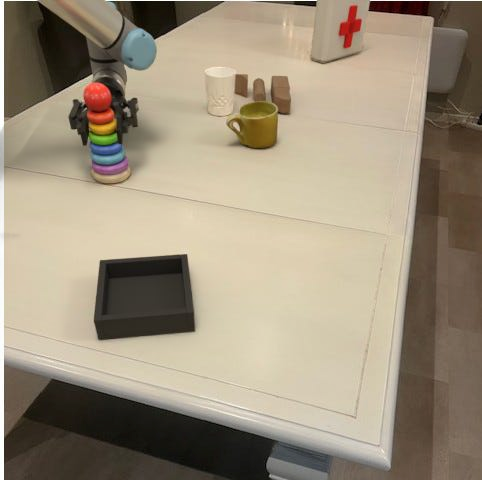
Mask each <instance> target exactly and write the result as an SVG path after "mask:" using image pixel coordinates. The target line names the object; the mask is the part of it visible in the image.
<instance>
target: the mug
mask: <svg viewBox="0 0 482 480" xmlns="http://www.w3.org/2000/svg"><path fill="white" fill-rule="evenodd" d="M234 123H236V124H237V125H238V127H239V130H238V129H237V128H236V127H235V126H234ZM225 124H226V126H227V127H228V129H230V130H231V131H232V132H233V133H234V134H235V135H236V137H237V139H238V141H239V142H240V143H241V145H244V146H248V147H250V148H253V149H268V148H271V147H273V146H274V145H275V144H276V142H277V140H278V127H279V126H278V124H279V112H278V108H277V106H276V105H275V104H274V103H272V101H266V100H265V101H255V102H254V101H249V102H247V103H244V104H242V105H241V106H239V108H238V110H237V114H230V115H228V117H227V119H226V122H225Z"/></svg>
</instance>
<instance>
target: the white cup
mask: <svg viewBox="0 0 482 480" xmlns="http://www.w3.org/2000/svg"><path fill="white" fill-rule="evenodd" d="M236 74H237V71H236V70H235V69H234V68H232V67H231V68H230V67H227V66H214V67H209V68H207V69H205V70H204V80H205V81H204V82H205V95H206V96H205V97H206V102H207V103H206V104H207V112H208V114H210V115H212V116H217V117H226V116H230V115H232V114H233V113H234V102H235V95H236V94H235V78H236Z"/></svg>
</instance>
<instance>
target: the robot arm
mask: <svg viewBox="0 0 482 480" xmlns="http://www.w3.org/2000/svg"><path fill="white" fill-rule="evenodd" d="M36 1H37V2H39V4H41V5H43V6H44V7H45V8H47V9H48V10H49V11H50V12H52V13H53V14H55V15H56V16H58V17H59V18H60V19H62V20H63V21H65V23H67V24H68V25H70V26H71V27H72V28H74V29H75V30H77V31H78V32H79V33H81V34H82V35H83V36H84V37H85V39H86V43H87V49H88V56H89V62H90V67H91V74H92V80H91V83H101V84H103V85H105V86H106V87H107V88H108V89H109V91H110V93H111V97H112V100H111V104H110V106H109V108H111V109H112V110H113V112H114V118H113V119H115V120H116V122H117V127H116V133H117V139H118V144H122V143H123V139H124V134H129V130H130V127H132V128H138V127H139V122H138V121H139V120H138V112H139V109H140V108H139V101H138V97H132V98H131V99H128V100H127V98H126V88H127V82H128V75H127V69H126V67H127V68H129V69H132V70H135V71H141V72H143V71H145V70H147V69H149V68H151V66H152V65H153V64H154V62H155V60H156V58H157V53H158V52H157V51H158V49H157V43H156V41H155V39H154V37H153V36H152V35H151V34H150V33H149V32H147V31H146V30H145V29H144V28H141V27H138V26H137V25H136V24H134V23H133V22H131V21H130V20H129V19H128V18H127V17H126V16H124V15H123V14H122V13H121V12H120V11H119V10H118V9H117V6H116V4H115V3H114V2H112V1H109V0H36ZM125 66H126V67H125ZM126 109H128V110H129V113H130V116H128V111H124V110H126ZM89 110H90V108H89V107H88V106H87V105H86V103H85V101H82V100H79V99H77V98H74V99H72V106H71V110H70V112H69V114H68V121H69V126H70V130H73V131H74V130H76V132H77V135H78V136H80V140H81V144H82V146H83V147H84V146H86V147H87V146H88V143H89V132H90V129H89V122H90V120H89V119H88V117H87V112H88V111H89Z"/></svg>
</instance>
